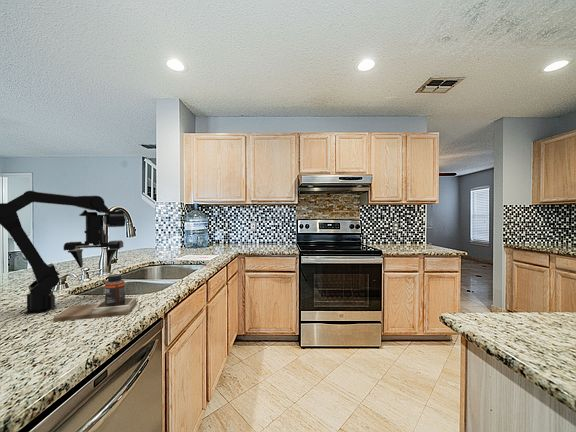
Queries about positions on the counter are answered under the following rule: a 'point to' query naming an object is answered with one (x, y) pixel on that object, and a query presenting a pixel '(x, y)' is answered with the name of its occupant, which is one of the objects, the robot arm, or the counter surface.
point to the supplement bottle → (114, 291)
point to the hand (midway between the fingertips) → (94, 267)
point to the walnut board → (96, 310)
